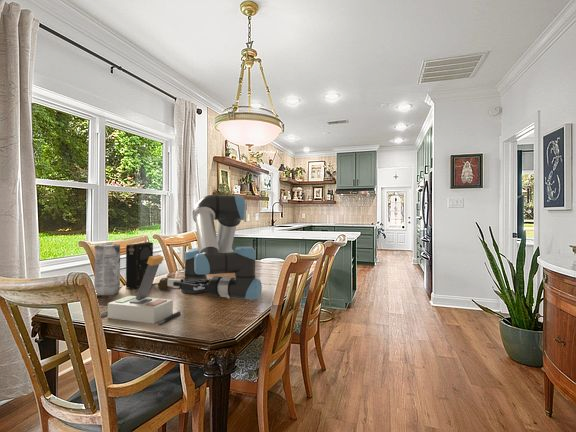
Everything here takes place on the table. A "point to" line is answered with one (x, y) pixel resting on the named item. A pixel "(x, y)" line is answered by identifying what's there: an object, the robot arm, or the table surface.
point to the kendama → (162, 284)
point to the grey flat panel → (158, 321)
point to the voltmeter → (137, 263)
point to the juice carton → (107, 269)
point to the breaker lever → (149, 276)
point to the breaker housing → (140, 309)
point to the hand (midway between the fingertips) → (168, 282)
